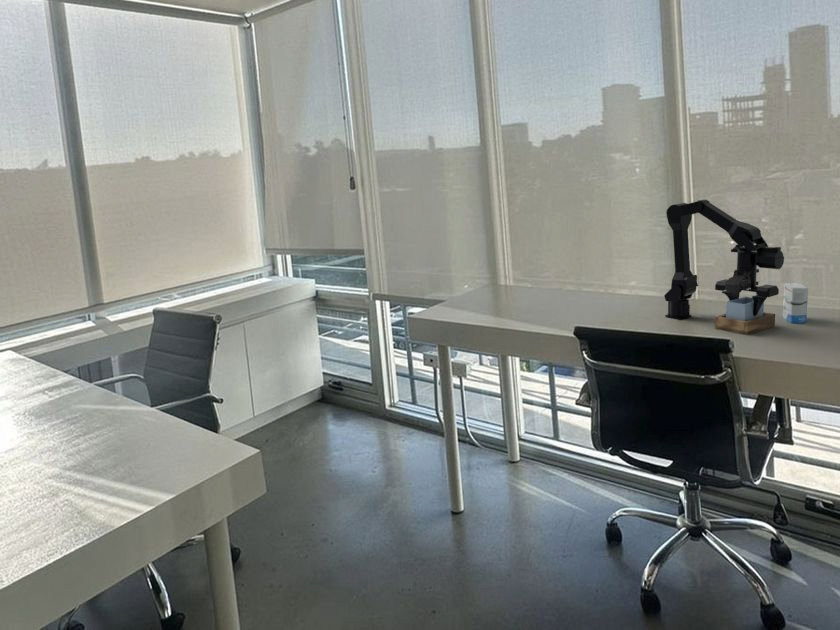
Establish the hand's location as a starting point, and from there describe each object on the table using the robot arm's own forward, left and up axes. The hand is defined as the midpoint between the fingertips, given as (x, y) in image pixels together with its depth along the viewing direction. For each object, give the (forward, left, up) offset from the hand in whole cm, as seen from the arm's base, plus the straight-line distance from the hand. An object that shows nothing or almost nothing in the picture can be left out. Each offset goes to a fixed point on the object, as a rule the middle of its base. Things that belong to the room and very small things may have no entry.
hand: (744, 313), depth 219 cm
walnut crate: (0, 0, -4) cm, 5 cm away
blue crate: (0, 0, -2) cm, 2 cm away
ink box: (+6, +18, -5) cm, 20 cm away
